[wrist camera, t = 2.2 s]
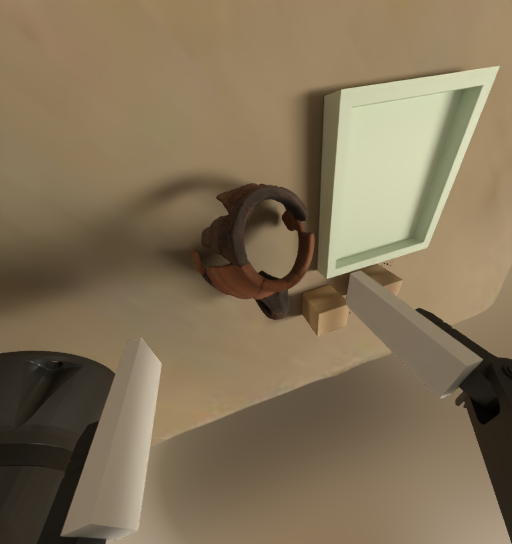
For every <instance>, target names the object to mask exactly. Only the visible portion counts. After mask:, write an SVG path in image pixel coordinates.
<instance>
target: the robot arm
mask: <svg viewBox="0 0 512 544" xmlns="http://www.w3.org/2000/svg"><path fill="white" fill-rule="evenodd" d="M346 305H347V306H348V307H349V308H350V309H351V310H352V311H353V312H354V313H355V314H356V315H357V316H358V317H359V318H360V319H361V320H362V321H363V322H364V323H365V324H366V325H367V326H368V328H369V329H370V330H371V331H372V332H373V333H374V334H375V335H376V336H377V337H378V338H379V339H380V340H381V341H382V342H383V343H384V344H385V345H386V346H387V347H388V348H389V349H390V350H391V351H392V352H393V353H394V354H395V355H396V356H397V357H398V358H399V359H400V360H401V361H402V362H403V363H404V364H405V365H406V366H407V367H408V368H409V369H410V370H411V371H412V372H413V373H414V374H415V375H416V376H417V377H418V378H419V379H420V381H422V383H424V385H425V386H426V387H427V388H428V389H429V390H430V391H431V392H432V393H433V394H434V395H435V396H436V397H437V398H438V399H440V398H443V397H445V396H447V395H450V394H452V393H453V392H454V391H455V390H456V389H457V388H458V387H460V388H461V389H462V390H463V392H462V393H461V394H460V395H459V396H458V397H457V399H456V401H455V402H456V405H457V406H459V405H460V404H461V403H462V402H465V404H464V408H467V410H468V414H469V417H470V420H471V423H472V426H473V429H474V432H475V435H476V438H477V441H478V444H479V447H480V450H481V453H482V456H483V459H484V462H485V465H486V467H487V471H488V474H489V477H490V479H491V483H492V486H493V488H494V492H495V495H496V498H497V501H498V504H499V507H500V510H501V513H502V516H503V519H504V521H505V525H506V528H507V531H508V534H509V537H510V540H511V543H512V359H508V358H498V357H496V356H494V355H492V354H491V353H489V352H488V351H486V350H485V349H483V348H482V347H480V346H479V345H477V344H476V343H474V342H473V341H471V340H470V339H469V338H467V337H466V336H464V335H463V334H461V333H460V332H459V331H457V330H456V329H453V328H452V327H451V326H450V325H448V324H447V323H444V322H443V320H441V319H440V318H438V317H437V316H435V315H434V314H432V313H430V312H428V311H426V310H423V309H421V308H418V309H413V308H412V307H410V306H409V305H408V304H406V303H405V302H403V301H402V300H401V299H399V298H398V297H397V296H395V295H394V294H392V293H391V292H390V291H388V290H387V289H386V288H384V287H383V286H381V285H380V284H379V283H377V282H376V281H375V280H373V279H372V278H370V277H369V276H368V275H366V274H365V273H364V272H362V271H361V270H360V271H357V272H353V273H350V279H349V285H348V291H347V298H346ZM52 361H60V362H57V363H56V362H52ZM161 366H162V364H161V362H160V361H159V360H158V358H157V357H156V356H155V354H154V353H153V352H152V350H151V349H150V348H149V346H148V345H147V344H146V342H145V341H144V340H143V338H142V337H138V338H135V339H132V340H129V341H127V342H126V345H125V348H124V350H123V353H122V356H121V359H120V362H119V365H118V368H117V371H116V374H115V373H114V372H113V371H111V370H110V369H109V368H107V367H106V366H104V365H102V364H100V363H98V362H96V361H93V360H91V359H88V358H85V357H81V356H77V355H72V354H67V353H60V352H51V351H18V352H8V353H1V354H0V544H105V543H106V540H117V539H120V538H122V537H124V536H127V535H129V534H131V533H133V532H136V531H138V527H139V521H140V514H141V507H142V499H143V493H144V486H145V478H146V471H147V464H148V457H149V450H150V443H151V436H152V429H153V422H154V415H155V408H156V401H157V394H158V387H159V380H160V373H161Z"/></svg>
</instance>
